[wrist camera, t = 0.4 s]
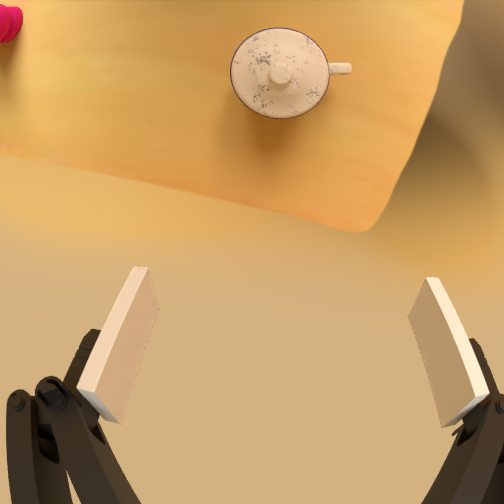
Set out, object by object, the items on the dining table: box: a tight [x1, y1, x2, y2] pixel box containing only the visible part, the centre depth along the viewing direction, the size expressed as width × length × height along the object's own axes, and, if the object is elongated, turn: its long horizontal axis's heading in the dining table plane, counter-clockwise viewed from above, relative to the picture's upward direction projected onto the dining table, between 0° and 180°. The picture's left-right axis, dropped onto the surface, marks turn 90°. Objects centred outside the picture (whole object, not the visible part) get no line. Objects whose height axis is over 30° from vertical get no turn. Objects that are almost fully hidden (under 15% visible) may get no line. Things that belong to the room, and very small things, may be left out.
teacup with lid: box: [230, 28, 352, 119], centre depth 26 cm, size 12×9×12 cm
